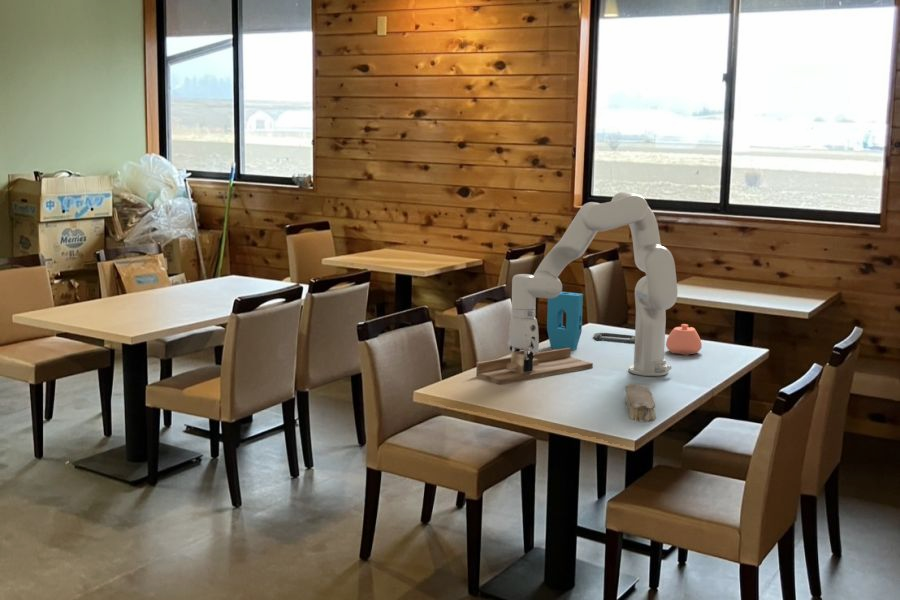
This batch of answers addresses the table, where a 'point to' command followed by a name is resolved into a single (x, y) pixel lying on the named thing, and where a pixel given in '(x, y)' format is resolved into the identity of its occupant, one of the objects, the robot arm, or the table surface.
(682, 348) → the sugar bowl
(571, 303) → the block
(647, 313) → the robot arm
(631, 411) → the beige mottled oblong part
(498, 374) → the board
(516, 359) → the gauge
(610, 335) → the c clamp
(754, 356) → the table surface
